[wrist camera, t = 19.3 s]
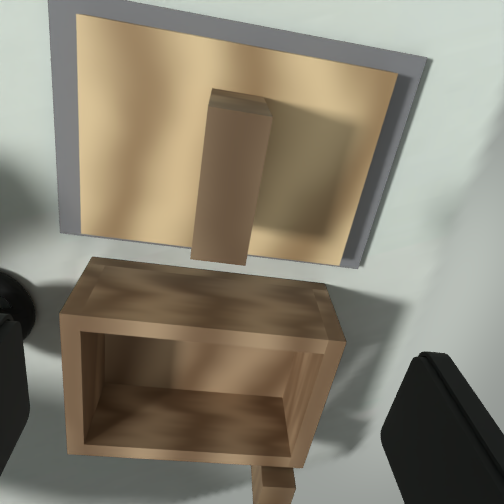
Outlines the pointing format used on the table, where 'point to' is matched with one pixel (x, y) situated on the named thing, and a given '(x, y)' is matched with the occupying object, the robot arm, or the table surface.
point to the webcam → (17, 303)
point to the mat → (118, 8)
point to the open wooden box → (198, 368)
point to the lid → (222, 143)
